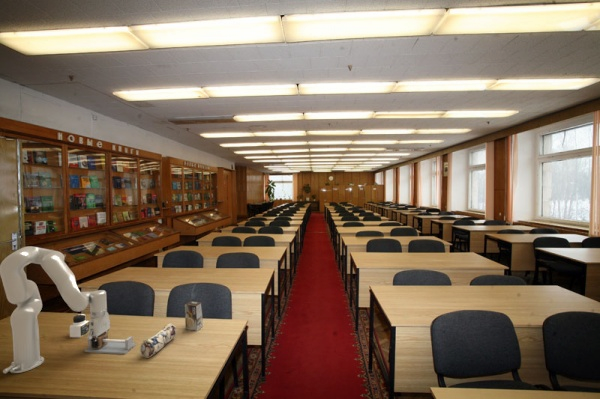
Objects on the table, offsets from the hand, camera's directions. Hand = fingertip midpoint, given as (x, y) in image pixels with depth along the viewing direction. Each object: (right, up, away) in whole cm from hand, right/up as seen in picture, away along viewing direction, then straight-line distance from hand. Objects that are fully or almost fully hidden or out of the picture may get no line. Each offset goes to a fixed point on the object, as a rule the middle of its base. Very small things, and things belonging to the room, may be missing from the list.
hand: (99, 343), depth 160 cm
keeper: (0, -1, 0) cm, 1 cm away
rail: (+6, -2, 0) cm, 7 cm away
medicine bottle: (-23, -2, +15) cm, 28 cm away
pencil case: (+34, -3, +1) cm, 34 cm away
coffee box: (+45, -1, +23) cm, 50 cm away
